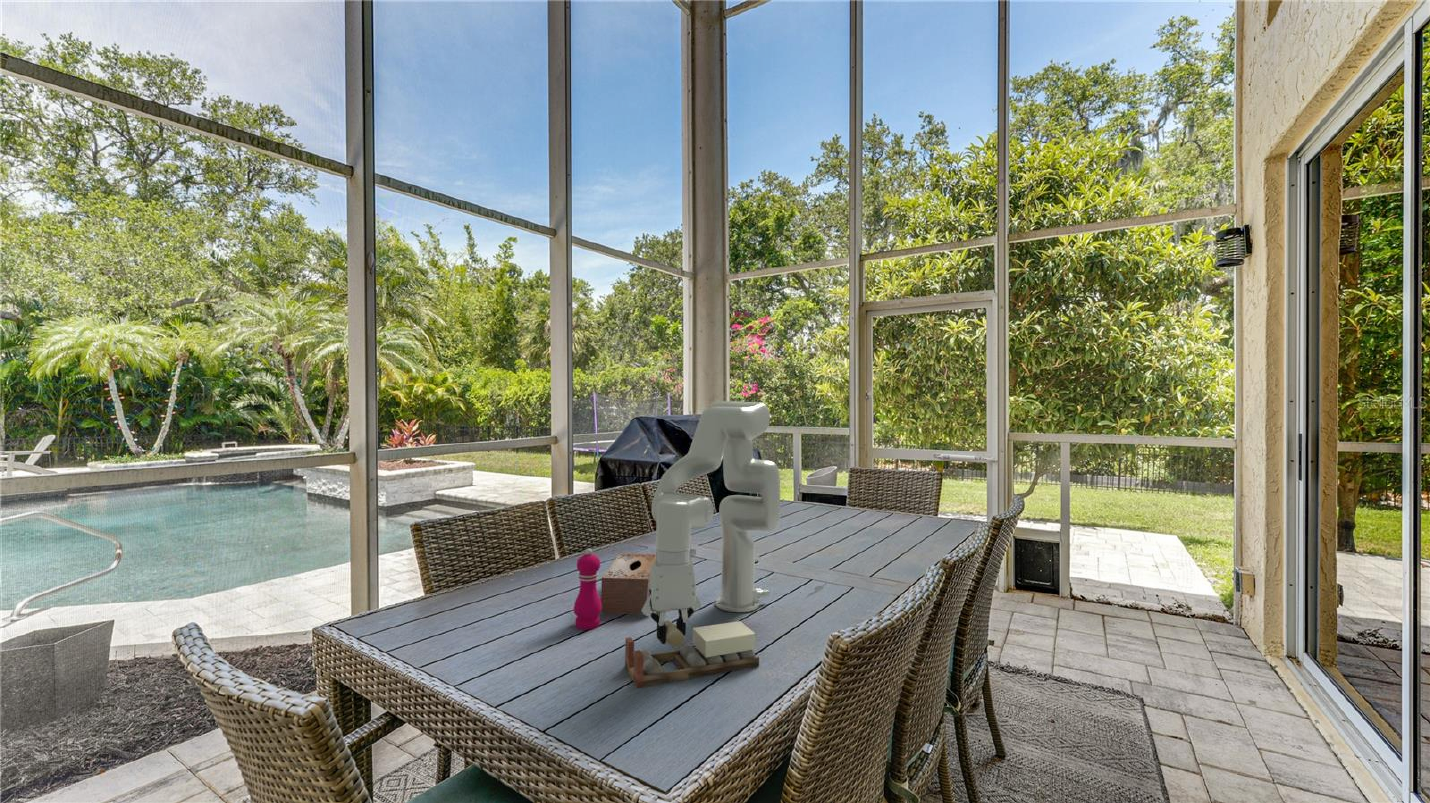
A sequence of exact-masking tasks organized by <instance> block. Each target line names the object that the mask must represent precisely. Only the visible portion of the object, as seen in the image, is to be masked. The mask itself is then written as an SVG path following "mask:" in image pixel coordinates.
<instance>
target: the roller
mask: <svg viewBox="0 0 1430 803" xmlns="http://www.w3.org/2000/svg"><path fill="white" fill-rule="evenodd" d="M664 622H665V625H666V643H667V644H668V645H669V647H671V649H680V648H681V646H682V645H684V644H685V636H684V635H683V634H682V633H681V632H680V631H679V630H678V628H677V627H676V624H674V623H673V622H672V621H671V620H664Z"/></svg>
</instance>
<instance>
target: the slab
mask: <svg viewBox="0 0 1430 803" xmlns="http://www.w3.org/2000/svg"><path fill="white" fill-rule="evenodd" d="M692 644H693V645H694V647H697V649H698V650H699V651H700V652H701V653H702V654H703V655H704V656H705V657H712V656H718V655H724V654H730V653H736V652H742V651H748V650H752V651H754V650H756V633H755V632H754V631H753V630H752V629H750V628H749V627H748V626H747V625H745V624H744V623H743V622H742V621H741V620H739V621H732V622H726V623H718V624H710V625H704V626H698V627H692Z"/></svg>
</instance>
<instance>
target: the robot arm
mask: <svg viewBox="0 0 1430 803" xmlns="http://www.w3.org/2000/svg"><path fill="white" fill-rule="evenodd" d="M770 419H771V413H770V410H769V408H768V406H767V405H766V404H765V403H763V402H761V401H760V402H758V401H757V402H756V401H735V400H734V401H733V400H732V401H730V400H729V401H727V400H724V401H723V400H721V401H715V402H711V404H709V405H708V406H707V408H706V409H704V410H703V412H702V413H701V415H700V418H699V420H698V424H697V427H696V429H695V432H694V435H693V438H692V442H691V444H690V447H689V450H688V453H687V454H685V455H684V456H683V457H681V458H680V459H678V460H677V461H675V463H674V464H672V465H671V466H670V467H669V468H668V469H667V470H666V471H665V472H664V473H663V475H662V476H661V477H660V480H659V482H658V485H657V487H656V490H655V493H654V495H653V499H652V503H651V515H652V519H653V520H654V521H655V522H656V525H655V526H656V529H655V530H656V532H655V536H656V537H655V538H656V539H655V554H656V561H655V562H652V564H651V569H650V574H649V581H648V590H647V601H646V602H645V604H644V606H643V608H642V610H641V612H642V613H643V614H642V615H645V616H647V617H649V618H651V619H652V620H653V621H654V622H655V623H656V639H657V640H658V641H659V642H660V643H661V644H662V645H666V643H667V641H666V625H665V622H664V621H666V620H665V618H666V614H667V612H670V611H678V612H677V613H678V617H677V619H676V624H675V626H676V627H677V628H678V630H679V631H680V632H681V633H682V634H683V635H684V637H685V636H686V634H687V623H688V622H689V619H690V618H691V617H692V615H693V614H694V613H695V612H696V611H698V610H699V609H700V608H702V603H701V602H700V600H699V597H698V596H697V586H696V584H697V583H696V576H695V569H694V563H693V561H692V557H693V556H696V555H697V550H696V549H693V548H691V540H692V539H691V536H692V534H691V533H692V532H691V530H697V529H698V530H699V529H702V528H706V526H708V525H709V524H710V523H711V522H712V520H713V519H714V518H713V517H714V514H715V513H714V511H715V507H714V504H713V502H712V500H711V499H710V498H709V497H707V496H704V495H702V494H693V493H692V494H690V493H681V492H677V490H678V489H679V488H680V487H681V486H682V485H683V484H686V482H689V481H691V480H693V479H696V478H699V477H701V476H704V475H707V474H709V473H713V472H715V471H716V470H718V469H719V468H720V467H721V464H722V463H723V464H722V466H723V468H722V469H723V481H724V486H725V488H726V489H727V490H728V491H731V492H735V493H736V492H738V493H748V494H758V495H760V496H751V495H742V494H734V495H733V494H732V495H728V496H725V497H724V498H723V499H722V500H721V501H720V503H719V508H718V510H719V512H718V515H719V520H720V522H719V523H720V526H721V527H720V528H721V574H720V575H721V576H720V577H721V579H720V582H721V583H720V585H721V586H720V596H718V597H717V598H716V599H715V606H716V608H718V609H720V610H722V611H726V612H731V613H749V612H752V611H755V610H757V609H758V608H760V598H765V597H766V598H767V597H770V590H769V589H763V590H762V589H761V588H755V570H756V569H755V567H756V566H755V565H756V564H755V562H756V544H755V541H754V539H753V536H752V535H751V534H750V531H754V532H764V533H770V532H774V531H776V530H777V529H778V528H779V525H780V521H781V479H780V477H781V476H780V470H779V467H778V465H777V464H776V462H774V461H772V460H768V459H755V457H754V452H753V451H754V449H753V440H754V439H756V438H758V437H759V436H761V435H762V434H764V433H765V432H766V431H767V429H768V427H769V425H770ZM651 607H652V609H653V610H654V611H655V612H654V611H651V610H650V609H651Z"/></svg>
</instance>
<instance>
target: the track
mask: <svg viewBox="0 0 1430 803" xmlns="http://www.w3.org/2000/svg"><path fill="white" fill-rule="evenodd" d="M624 645H625V650H624V656H625V658H624V668H625V670H626V671H627V673H628V676H630V678H631V679H632V681H633V683H634V685H635V687H636V689H639V688H644V687H645V688H646V687H650V686H656V685H661V684H668V683H673V682H678V681H683V680H684V681H685V680H688V679H689V680H690V679H696V678H701V677H706V676H711V675H718V674H724V673H729V672H730V673H731V672H734V671H735V672H736V671H739V670H740V671H741V670H745V669H751V668H756V667H760V657H759V656H757V655H756V653H755V652H754V650H748V651H742V652H736V653H730V654H724V655H718V656H712V657H705V656H704V655H703V654H702V653H701V652H700V651H699V650H698V649H697V647H696V646H694V647H693V646H692V645H691V644H690V643H683V644H682V646H681V647H679V649H675V650H670V651H664V652H656V653H650V652H649V651H648V650H646V649H641V650H635V641H634V640H633V638H632V637H631V636H630V637H625V644H624ZM672 661H673V662H674V663H675V664H676V665H677V666H678V668H679V669H677V670H671V671H667V672H666V671H665V670H664V668H663V666H662V665H661V664H662V663H666V662H667V663H668V662H672ZM660 663H661V664H660Z"/></svg>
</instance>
